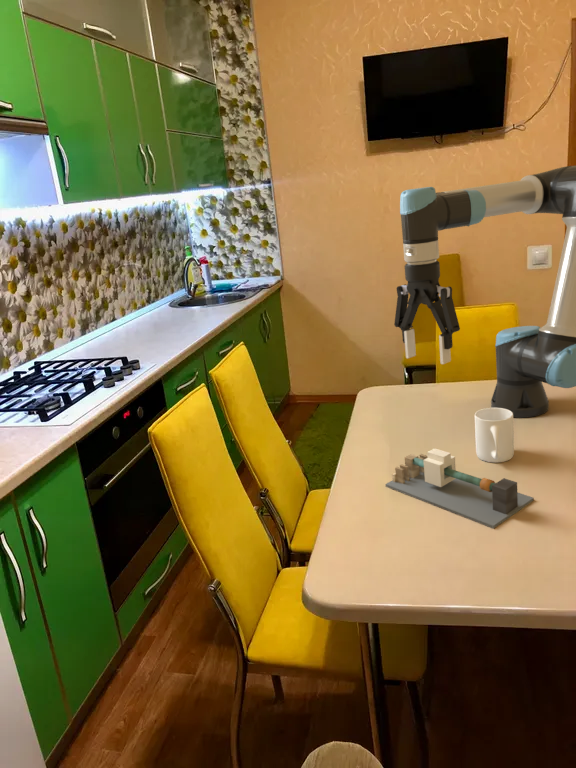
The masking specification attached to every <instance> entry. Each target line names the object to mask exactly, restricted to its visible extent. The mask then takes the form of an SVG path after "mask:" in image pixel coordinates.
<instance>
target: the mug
mask: <svg viewBox="0 0 576 768" xmlns="http://www.w3.org/2000/svg"><path fill="white" fill-rule="evenodd" d="M474 431H475V432H474V434H475V435H474V436H475V438H474V439H475V453H476V456H477V458H478V459H479V460H481V461H483V462H487V463H493V464H494V463H496V464H497V463H503V462H507V461H509V460H511V459H512V458H513V457H514V454H515V446H514V445H515V444H514V443H515V441H514V439H515V438H514V437H515V436H514V433H515V432H514V417H513V413H512V412H511V411H510V410H507V409H504V408H491V407H485V408H482V409H478V410H476V411H475V413H474Z"/></svg>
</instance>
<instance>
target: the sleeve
mask: <svg viewBox="0 0 576 768" xmlns="http://www.w3.org/2000/svg"><path fill="white" fill-rule="evenodd" d="M426 452H427V453H426V456H428V458H426V459H424V460H423V461H424V475H425V482H428V483H431V484H433V485H436V486H439V487H442V486H444V485H446V484H447V483H449V482H451V481H452V480H454V479H456V478H453V477H450V476H447V475H444V468H449V469H453V470H456V467H457V465H456V456H454V455H452V453H451V452H448V451H445V450H442V449H438V448H435V447H433V448H432V449H431V450H428V451H426ZM456 471H457V470H456Z"/></svg>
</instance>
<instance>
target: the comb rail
mask: <svg viewBox="0 0 576 768" xmlns="http://www.w3.org/2000/svg"><path fill="white" fill-rule="evenodd" d="M426 458H428V456H427V454H422V453H420V454H419V455H416V454H413V453H411V454H408V455H406V456H404V464H400V465H399V467H398V466H396V467H395V468H394V470H395V472H393V473H392V474H391V476H392V479H391V480H393V482H396V481H397V482H400V483H402V484H403V483H405V480H406V481H409V477H410V478H414V477H416V476H418V475H420V474H419V472H422V473H423V472H424V461H423V460H424V459H426ZM444 475H447V476H450V477H453V478H456V479H459V480H462V481H465V482H468V483H471V484H474V485H477V486H480V489H482V490H485V491H488V492H492V499H493V510H495V511H498V512H501V513H503V514H508V513H509V512H511V511H512V510H513V509H515V508H516V507H518V498H517V492H518V482H517V481H514V480H511V479H507V478H502V479H500V480H499V481H497V482H495V480H492V479H489V478H486V477H483V478H480V477H477V476H474V475H470V474H467V473H464V472H461V471H457V470H453V469H449V468H444Z"/></svg>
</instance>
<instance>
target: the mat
mask: <svg viewBox="0 0 576 768" xmlns="http://www.w3.org/2000/svg"><path fill="white" fill-rule="evenodd" d="M419 474H420V475H418V476H416V477H414V478H410V477H409V481H406V480H405V483H403V484H402V483H400V482H397V481H396V482H393V479H391V480H390V481H389V482H387V483H385V487H386V488H389V489H391V490H394V491H397V492H399V493H401V494H405V496H409V497H412V498H415V499H416V500H420V501H421V502H425V503H428V504H430V505H432V506H434V507H437V508H439V509H443V510H445V511H447V512H450V513H452V514H455V515H458V516H461V517H462V518H466V519H468V520H470V521H473V522H475V523H478V524H480V525H484V526H485V527H488V528H491V529H493V530H494V529H495V528H496V527H497V526H499V525H500V524H502V523H504V522H505V521H506V520H508V519H509V518H510V517H512V516H513V515H515V514H516V513H518V512H519V511H520V510H522V509H523V508H525V507H526V506H527V505H529V504H531V503H532V502H533V501H534V500H535V497H534V496H530V495H527V494H524V493H521V492H518V491H517V498H518V507H516V508H515V509H513V510H512V511H511V512H509V513H508V514H503V513H501V512H498V511H495V510H493V499H492V492H488V491H485V490H482V489H480V486H477V485H474V484H471V483H468V482H465V481H462V480H459V479H454V480H452V481H451V482H449V483H447V484H446V485H444V486H442V487H439V486H436V485H433V484H431V483H428V482H425V475H424V472H423V473H422V472H419Z"/></svg>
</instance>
